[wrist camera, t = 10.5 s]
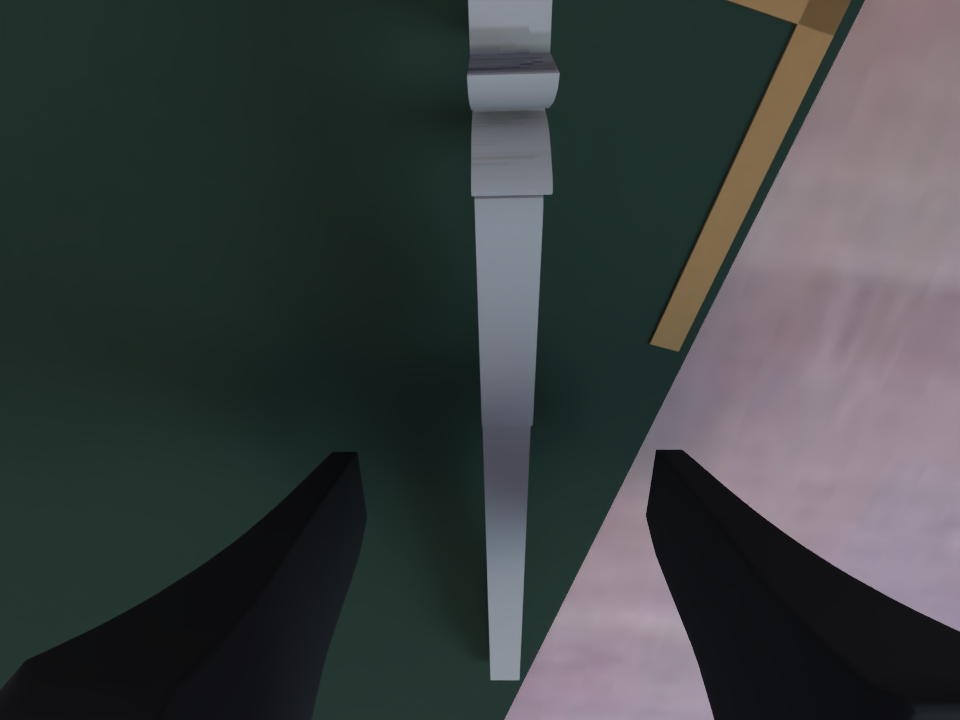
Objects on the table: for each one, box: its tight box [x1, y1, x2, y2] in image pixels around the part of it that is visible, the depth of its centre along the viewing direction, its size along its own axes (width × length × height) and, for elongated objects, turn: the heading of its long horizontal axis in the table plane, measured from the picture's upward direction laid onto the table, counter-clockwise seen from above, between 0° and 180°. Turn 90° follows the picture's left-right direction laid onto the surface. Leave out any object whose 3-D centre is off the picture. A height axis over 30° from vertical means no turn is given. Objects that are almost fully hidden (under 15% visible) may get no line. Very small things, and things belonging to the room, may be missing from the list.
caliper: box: [467, 0, 560, 680], centre depth 12 cm, size 20×1×6 cm, turn 1°
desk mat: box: [0, 0, 865, 720], centre depth 17 cm, size 36×22×1 cm, turn 165°
